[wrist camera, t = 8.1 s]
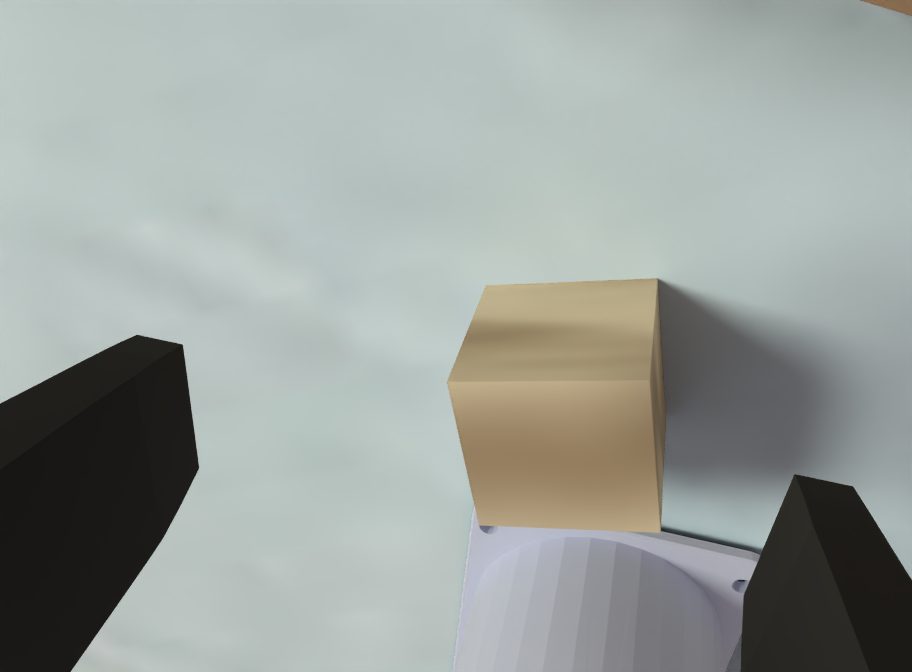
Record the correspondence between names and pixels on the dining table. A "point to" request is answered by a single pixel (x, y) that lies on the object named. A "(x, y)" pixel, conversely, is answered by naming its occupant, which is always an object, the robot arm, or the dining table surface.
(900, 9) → the walnut block
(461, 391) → the maple block
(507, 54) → the dining table surface
